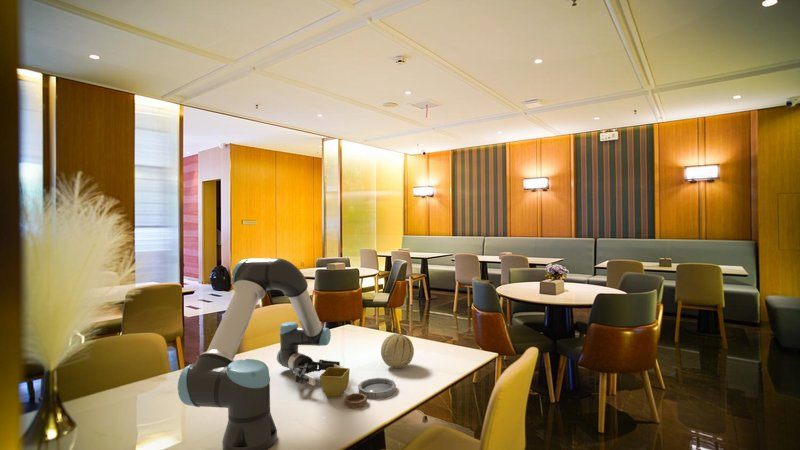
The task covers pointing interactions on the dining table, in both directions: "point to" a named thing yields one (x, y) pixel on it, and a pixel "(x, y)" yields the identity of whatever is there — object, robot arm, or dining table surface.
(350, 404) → the brown octagonal saucer
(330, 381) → the flower pot
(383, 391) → the grey saucer
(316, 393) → the dining table surface
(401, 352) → the cantaloupe
